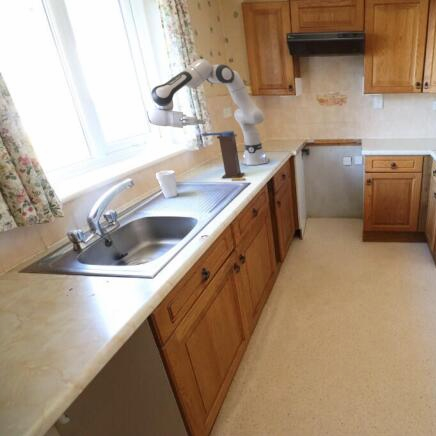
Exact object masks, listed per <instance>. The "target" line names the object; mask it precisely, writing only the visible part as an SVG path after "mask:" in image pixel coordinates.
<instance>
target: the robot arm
mask: <svg viewBox="0 0 436 436" xmlns="http://www.w3.org/2000/svg"><path fill="white" fill-rule="evenodd" d="M204 82H208V83H210V84H212V85H223V84H224V85H225V86H226V87H227V90H228V92H229V94H230V97H231V99H232V102H233V103H234V104H235V106H237V107H238V108H237V109H235V111H234V113H233V116H234V119H235V120H236V122H237V123H238V125H239V127H240V129H241V131H242V135H243V140H244V152H243V161H242V165H246V166H260V165H264V164H269V156H266V152H265V150H264V149H263V145H262V144H263V143H262V142H261V136H260V132H259V130H258V129H257V128H256V126H255V125H259V124H262V123H263V122H264V120H265V114H264V111H263V110H261V109H260V108H259V107H258V105H256V103H255V102H254V100H253V99H252V97H251V96H250V94H249V91H248V90H247V87H246V85H245V83H244V81H243V79H242V77H241V75H240V73H239V72H238V71H236V70H234V69H233V70H232V68H231V67H230V66H228V65H227V64H224V63H223V64H222V63H221V64H217V63H216V64H212V65H211V63H210V62H209V61H208V60H207V59H204V58H199V59H197V60H195V61H194V62H192V63H191V64H189V65H188V66H187V67H185V68H184V70H182V71H180V72H179V73H177V74H176V75H175V76H173V77H171V78H170V79H169V80H168V81H167V82H165V83H163V84H159V85H156V86H155V87H153V88H152V90H151V93H150V94H151V95H150V96H151V97H152V98H151V99H152V101H153V102H152V105H150V107H149V108H148V109H147V110H146V114H147V118H148V122H149V123H150V124H151V125H155V126H160V127H172V128H179V129H183V128H184V127H187V126H197V125H206V124H207V121H206V120H204V119H200V118H198V117H195V116H187V114H184V112H183V111H176V110H173V109H174V99H173V98H174V95H175V94H177V92H179V91H181V89H183V88H184V87H188V88H189V89H197V88H198V87H200V86H201V85H202V84H204Z"/></svg>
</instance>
